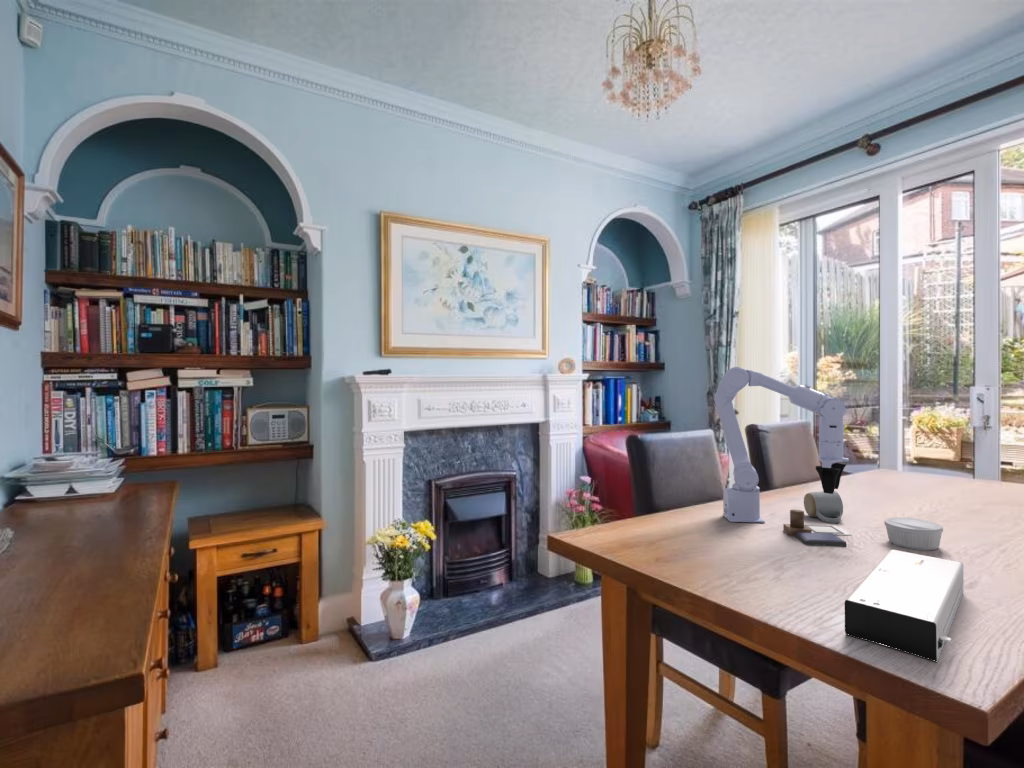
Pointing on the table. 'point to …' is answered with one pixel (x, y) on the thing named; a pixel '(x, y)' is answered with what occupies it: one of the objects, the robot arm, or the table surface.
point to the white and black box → (907, 603)
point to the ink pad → (820, 539)
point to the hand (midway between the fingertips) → (831, 490)
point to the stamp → (796, 523)
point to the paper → (827, 529)
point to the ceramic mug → (824, 506)
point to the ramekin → (914, 533)
